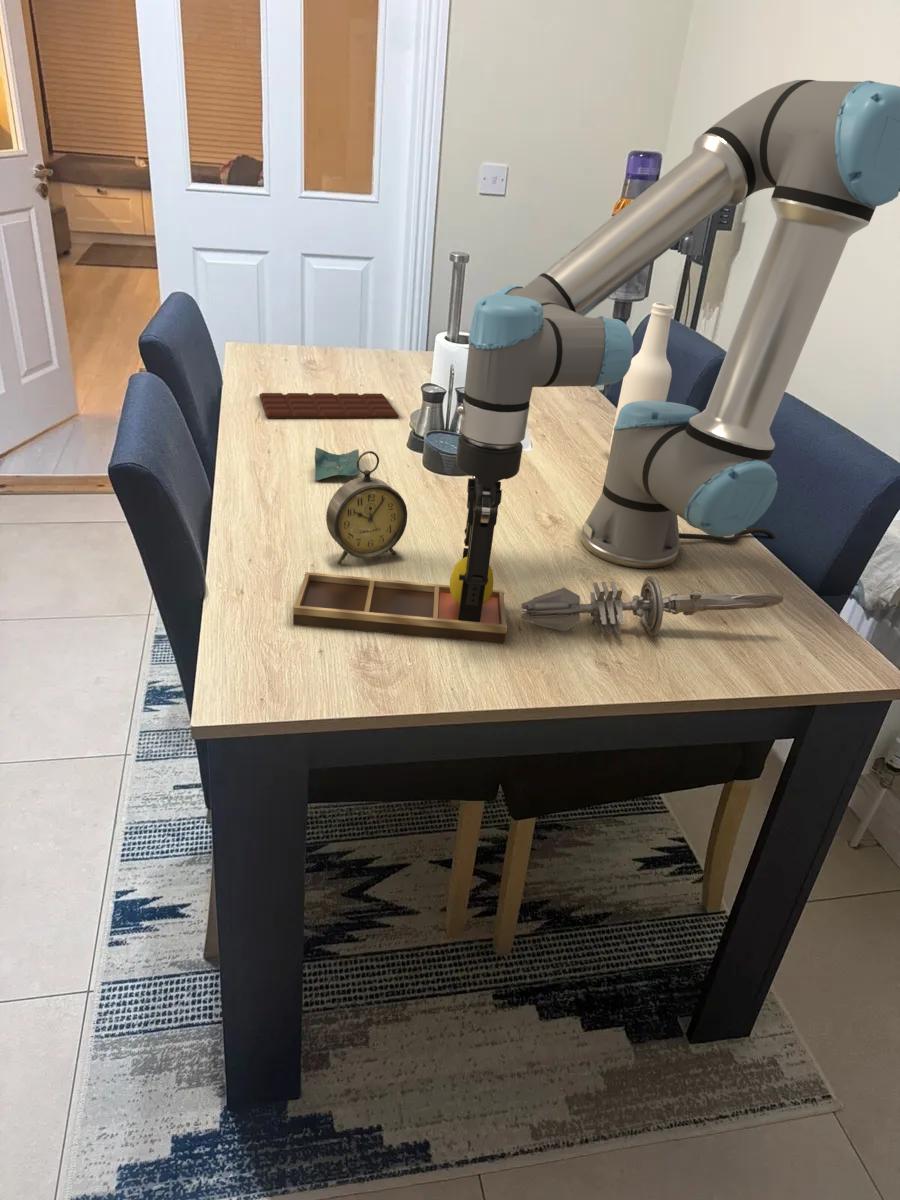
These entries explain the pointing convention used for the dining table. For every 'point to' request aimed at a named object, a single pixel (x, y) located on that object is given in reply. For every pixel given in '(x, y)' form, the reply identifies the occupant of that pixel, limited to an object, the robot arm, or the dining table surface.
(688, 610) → the spaceship
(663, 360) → the alcohol
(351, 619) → the wooden compartment tray
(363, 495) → the alarm clock
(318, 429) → the dining table surface
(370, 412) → the chocolate bar
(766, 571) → the dining table surface
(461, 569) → the lemon
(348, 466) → the terrain model
